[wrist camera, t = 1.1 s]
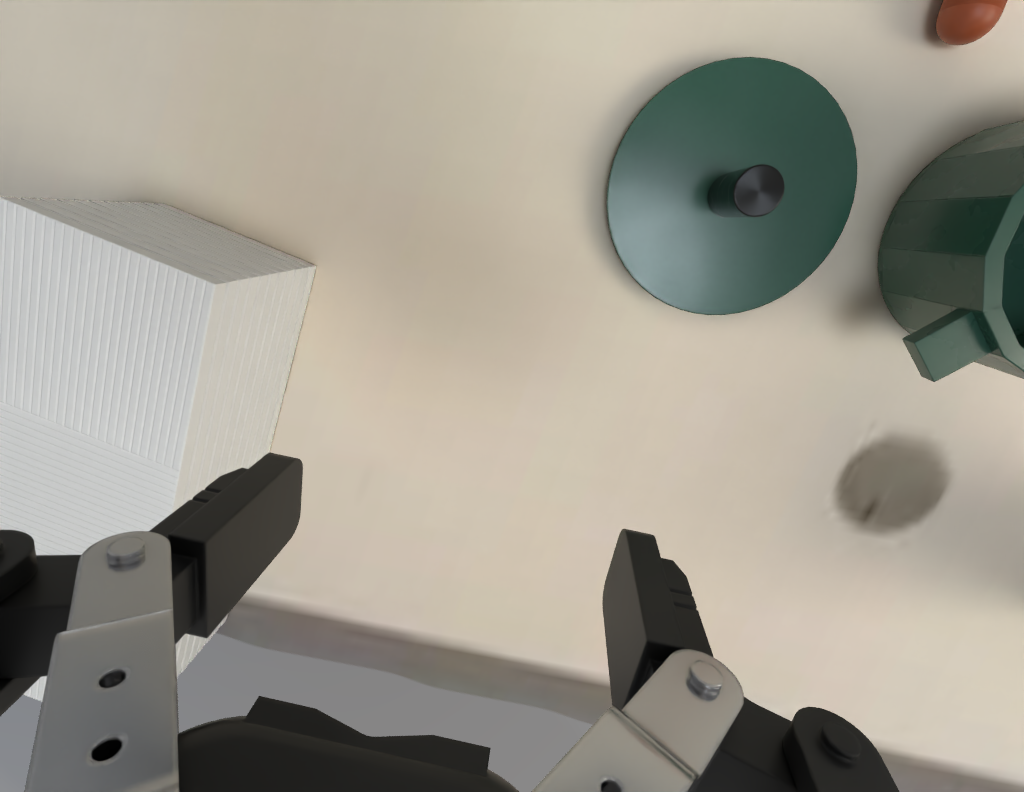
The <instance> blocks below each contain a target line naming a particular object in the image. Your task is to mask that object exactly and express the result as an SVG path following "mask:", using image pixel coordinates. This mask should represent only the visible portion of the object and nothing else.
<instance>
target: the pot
mask: <svg viewBox="0 0 1024 792" xmlns="http://www.w3.org/2000/svg"><path fill="white" fill-rule="evenodd" d="M878 276H879V284H880V288H881V292H882V295H883V298H884V300H885V303H886V305H887V307H888V309H889V310H890V312H891V314H892V315H893V317H894V318H895V319H896V320H897V321H898V323H899V324H900V325H901V326H902V327H903V328H904V329H905V330H907V331H908V332H909V333H910V335H908V336H906V337H904V338H903V341H904V343H905V345H906V347H907V349H908V351H909V353H910V355H911V357H912V359H913V361H914V362H915V364H916V366H917V368H918V370H919V372H920V374H921V376H922V377H924V378H926V379H929V380H931V381H933V382H935V381H937V380H939V379H941V378H943V377H945V376H947V375H949V374H951V373H953V372H955V371H956V370H958V369H960V368H962V367H964V366H966V365H968V364H970V363H972V362H976V363H979V364H982V365H985V366H988V367H991V368H994V369H997V370H999V371H1002V372H1005V373H1008V374H1011V375H1014V376H1017V377H1020V378H1023V379H1024V121H1020V122H1016V123H1012V124H1007V125H1002V126H999V127H995V128H990V129H986V130H983V131H981V132H980V133H978V134H976V135H974V136H971V137H969V138H967V139H965V140H963V141H962V142H960V143H958V144H956V145H955V146H953V147H951V148H950V149H948V150H947V151H946V152H944V153H943V154H941V155H940V156H938V157H937V158H936V159H935V160H934V161H933V162H931V163H930V164H929V165H928V166H927V167H926V168H925V169H923V171H922V172H921V173H920V174H919V175H918V176H917V177H916V178H915V179H914V180H913V181H912V182H911V184H910V185H909V186H908V188H907V189H906V190H905V192H904V193H903V194H902V196H901V197H900V199H899V201H898V202H897V204H896V206H895V207H894V209H893V211H892V213H891V215H890V217H889V219H888V222H887V224H886V226H885V230H884V233H883V236H882V239H881V244H880V249H879V255H878Z"/></svg>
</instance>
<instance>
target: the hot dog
mask: <svg viewBox="0 0 1024 792" xmlns="http://www.w3.org/2000/svg"><path fill="white" fill-rule="evenodd" d="M1006 3H1007V0H943V3H942V6H941V8H940V11H939V14H938V17H937V21H936V30H937V34H938V36H939V37H940V38H941V39H942V40H943V41H944V42H946V43H948V44H950V45H964V44H968V43H971V42H974V41H976V40H977V39H979V38H981V37H982V36H984V35H985V34H986V33H988V32H989V31H990V30H991V29H992V28H993V27H994V26H995V24H996V23H997V21H998V20H999V18H1000V16H1001V14H1002V12H1003V10H1004V7H1005V5H1006Z"/></svg>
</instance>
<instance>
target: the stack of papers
mask: <svg viewBox="0 0 1024 792" xmlns="http://www.w3.org/2000/svg"><path fill="white" fill-rule="evenodd" d="M316 267H317V266H316V265H313V264H311V263H309V262H306V261H304V260H301V259H299V258H296V257H294V256H291V255H289V254H287V253H284V252H282V251H279V250H277V249H274V248H272V247H269V246H267V245H264V244H262V243H260V242H257V241H255V240H252V239H250V238H247V237H245V236H242V235H240V234H238V233H235V232H233V231H230V230H228V229H225V228H223V227H220V226H218V225H216V224H213V223H211V222H208V221H206V220H203V219H201V218H198V217H196V216H193V215H191V214H189V213H186V212H184V211H181V210H179V209H176V208H174V207H171V206H169V205H167V204H164V203H154V204H153V203H144V202H143V204H142V203H140V202H130V203H129V202H121V201H118V202H115V201H104V202H102V201H97V200H89V201H87V200H74V201H72V200H70V199H57V200H55V199H50V198H40V200H39V199H36V198H26V197H21V199H19V198H16V197H2V196H0V530H17V531H21V532H24V533H27V534H29V535H30V536H31V537H32V538H33V540H34V545H35V551H36V555H82V554H83V552H84V551H85V550H86V549H87V548H89V547H90V546H91V545H93V544H95V543H96V542H98V541H100V540H102V539H104V538H107V537H110V536H112V535H116V534H120V533H125V532H132V531H150V530H151V529H152V528H154V527H155V526H156V525H157V524H159V523H160V522H161V521H163V520H164V519H165V518H167V517H168V516H169V515H170V514H172V513H173V512H174V511H176V510H177V509H178V508H180V507H181V506H182V505H183V504H185V503H186V502H187V501H189V500H192V499H193V497H194V496H195V495H196V494H198V493H199V492H200V491H202V490H205V488H206V487H207V486H208V485H209V484H211V483H212V482H213V481H215V480H216V479H217V478H219V477H220V476H222V475H224V474H227V473H229V472H232V471H234V470H237V469H240V468H246V469H249V468H250V467H251V466H252V465H254V464H255V463H256V462H257V461H259V460H260V459H261V458H262V457H263V456H265V455H266V454H268V453H269V451H270V447H271V443H272V439H273V435H274V432H275V428H276V424H277V420H278V416H279V412H280V408H281V404H282V400H283V396H284V392H285V388H286V384H287V380H288V377H289V373H290V369H291V365H292V361H293V357H294V353H295V349H296V345H297V341H298V337H299V333H300V329H301V325H302V322H303V318H304V314H305V310H306V306H307V302H308V298H309V294H310V290H311V286H312V282H313V278H314V274H315V270H316ZM227 616H228V614H227V615H226V617H225V618H224V619H223V620H222V621H221V623H220V624H219V625H218V626H217V627H216V629H215V630H214V631H213V632H212V633H211V635H210V636H209V637H208V638H203V637H198V636H194V635H189V634H185V635H184V636H183V637H182V638H181V639H180V640H179V641H178V642H177V644H176V668H177V678H178V677H179V673H182V672H183V671H184V670H185V668H186V667H187V666H188V663H190V662H191V661H192V660H193V659H194V658H195V656H196V653H199V652H200V651H201V649H202V648H203V647H204V644H206V643H207V642H208V641H209V640H210V638H211V637H212V635H214V634H215V633H216V632H217V630H218V629H219V626H220V627H221V626H222V625H223V623H224V622H225V621H226V620H227ZM46 680H47V676H43V677H40V678H39V679H38V680H37V681H36V682H35V683H34V684H33V685H32V686H31V687H30V688H29V689H28V690H27V691H26V692H25V693H24V694H23V695H26V696H29V697H31V698H34V699H36V700H39V701H42V700H43V695H44V690H45V685H46Z"/></svg>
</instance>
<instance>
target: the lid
mask: <svg viewBox="0 0 1024 792" xmlns="http://www.w3.org/2000/svg"><path fill="white" fill-rule="evenodd" d="M856 182H857V159H856V148H855V144H854V140H853V136H852V132H851V129H850V127H849V124H848V122H847V119H846V117H845V115H844V113H843V112H842V110H841V108H840V106H839V105H838V103H837V102H836V100H835V99H834V98H833V97H832V95H831V94H830V93H829V92H828V91H827V89H826V88H824V87H823V86H822V85H821V84H820V83H819V82H818V81H816V80H815V79H814V78H813V77H811V76H810V75H808V74H806V73H805V72H803V71H802V70H800V69H798V68H795V67H793V66H791V65H788V64H786V63H783V62H779V61H775V60H771V59H766V58H755V57H743V58H731V59H726V60H721V61H716V62H713V63H710V64H707V65H704V66H701V67H698V68H696V69H694V70H692V71H690V72H688V73H686V74H684V75H682V76H681V77H679V78H678V79H676V80H675V81H673V82H672V83H670V84H669V85H667V86H666V87H665V88H664V89H662V90H661V91H660V92H659V93H658V94H657V95H655V96H654V97H653V98H652V99H651V100H650V101H649V102H648V104H647V105H646V106H645V107H644V108H643V109H642V110H641V111H640V113H639V114H638V115H637V117H636V118H635V120H634V121H633V122H632V124H631V125H630V127H629V128H628V130H627V132H626V134H625V135H624V137H623V139H622V141H621V143H620V145H619V147H618V150H617V152H616V155H615V157H614V160H613V164H612V167H611V171H610V175H609V181H608V187H607V204H606V209H607V219H608V226H609V230H610V234H611V239H612V241H613V244H614V247H615V249H616V252H617V254H618V256H619V258H620V260H621V261H622V263H623V265H624V267H625V268H626V269H627V271H628V272H629V273H630V275H631V276H632V277H633V278H634V279H635V280H636V282H637V283H638V284H639V285H640V286H641V287H642V288H644V289H645V290H646V291H647V292H649V293H650V294H651V295H653V296H654V297H655V298H657V299H659V300H661V301H662V302H664V303H666V304H668V305H670V306H673V307H675V308H678V309H680V310H684V311H688V312H692V313H698V314H706V315H726V314H733V313H740V312H744V311H748V310H751V309H755V308H758V307H760V306H763V305H765V304H768V303H770V302H772V301H774V300H776V299H778V298H780V297H782V296H783V295H785V294H787V293H788V292H789V291H791V290H792V289H794V288H795V287H797V286H798V285H799V284H801V283H802V282H803V281H804V280H805V279H806V278H807V277H809V276H810V275H811V274H812V273H813V272H814V271H815V270H816V268H817V267H818V266H819V265H820V264H821V263H822V262H823V261H824V259H825V258H826V257H827V255H828V254H829V253H830V251H831V250H832V248H833V247H834V245H835V243H836V242H837V240H838V238H839V236H840V235H841V233H842V231H843V228H844V226H845V224H846V222H847V219H848V217H849V214H850V210H851V207H852V204H853V200H854V194H855V188H856Z"/></svg>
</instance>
